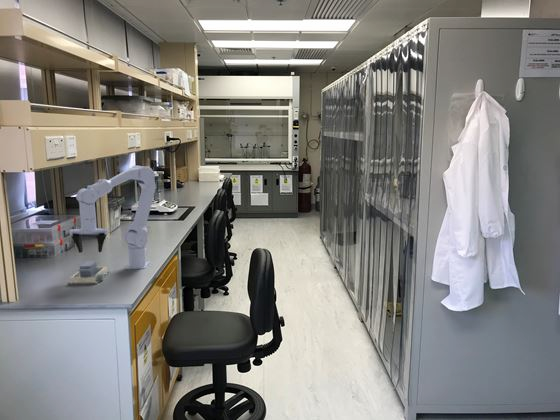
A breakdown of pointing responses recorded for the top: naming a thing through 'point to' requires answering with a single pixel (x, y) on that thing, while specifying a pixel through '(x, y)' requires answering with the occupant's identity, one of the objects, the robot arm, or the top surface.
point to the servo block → (88, 269)
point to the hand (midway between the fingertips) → (90, 251)
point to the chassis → (100, 275)
